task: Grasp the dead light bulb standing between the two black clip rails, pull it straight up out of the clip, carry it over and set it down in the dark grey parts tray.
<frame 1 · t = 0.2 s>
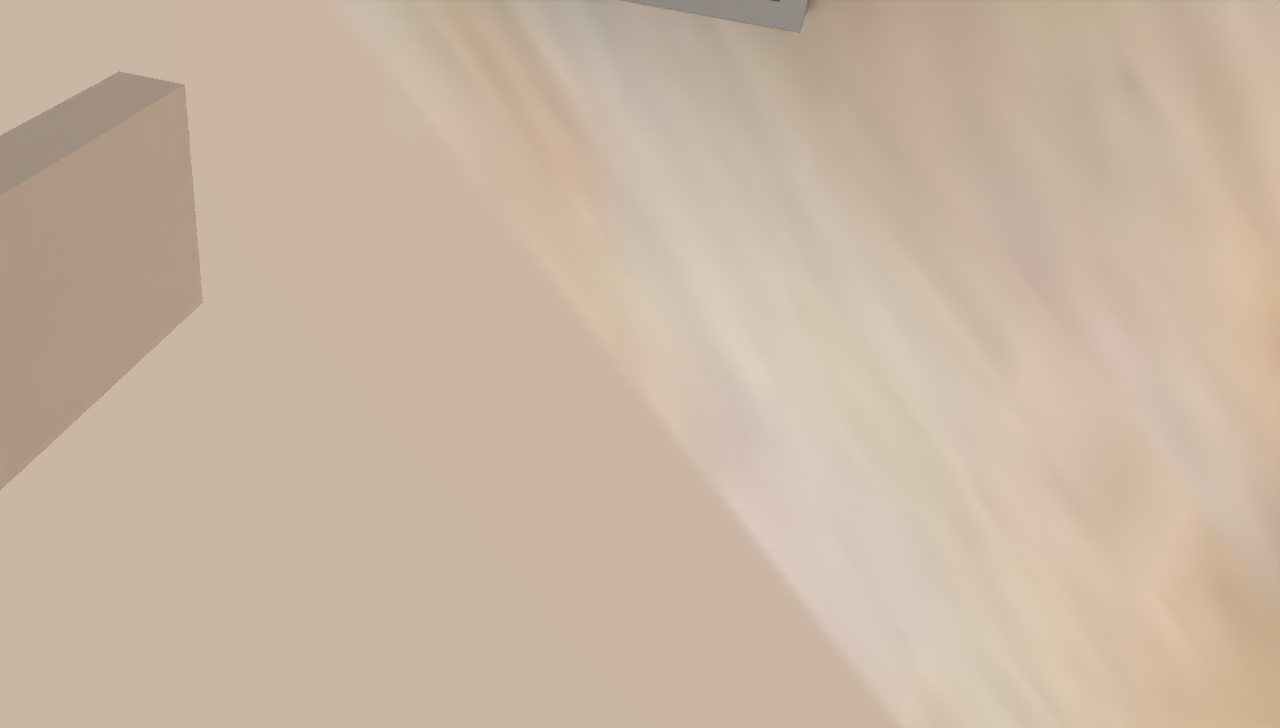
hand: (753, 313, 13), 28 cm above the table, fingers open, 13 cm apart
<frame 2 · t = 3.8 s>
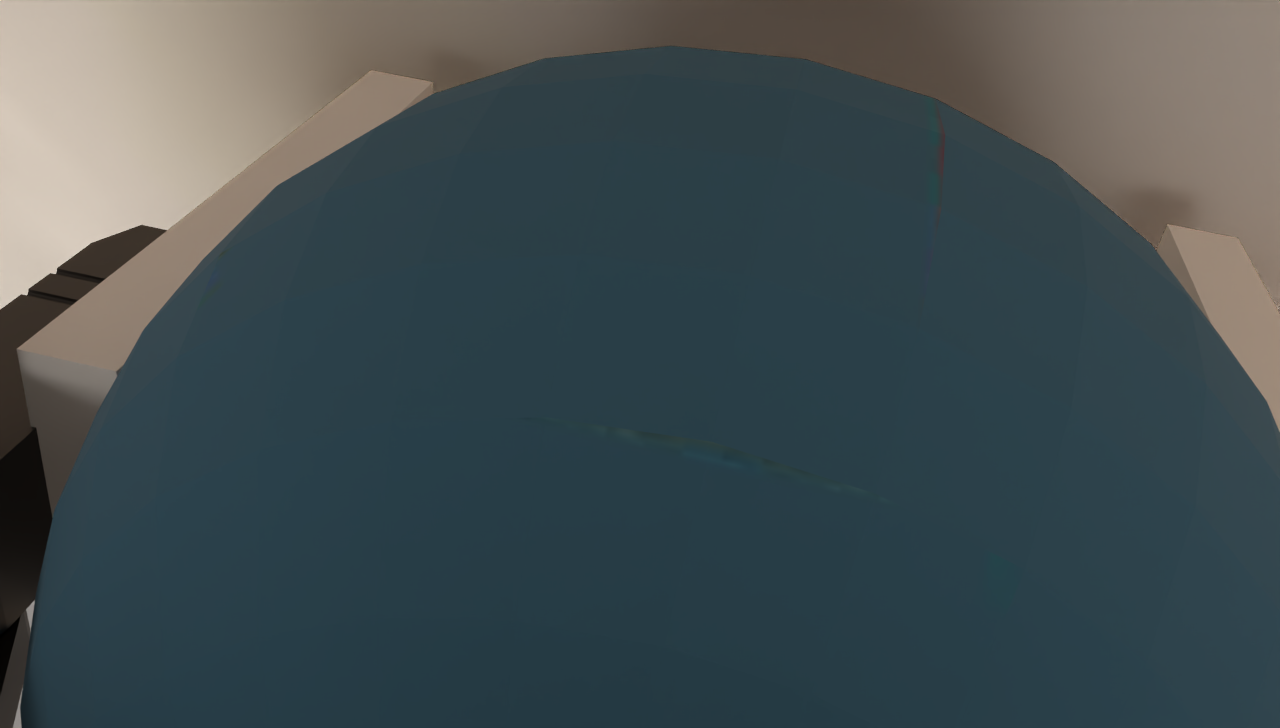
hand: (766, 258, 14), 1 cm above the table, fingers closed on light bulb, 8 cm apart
light bulb: (779, 206, 15), on the table, touching gripper
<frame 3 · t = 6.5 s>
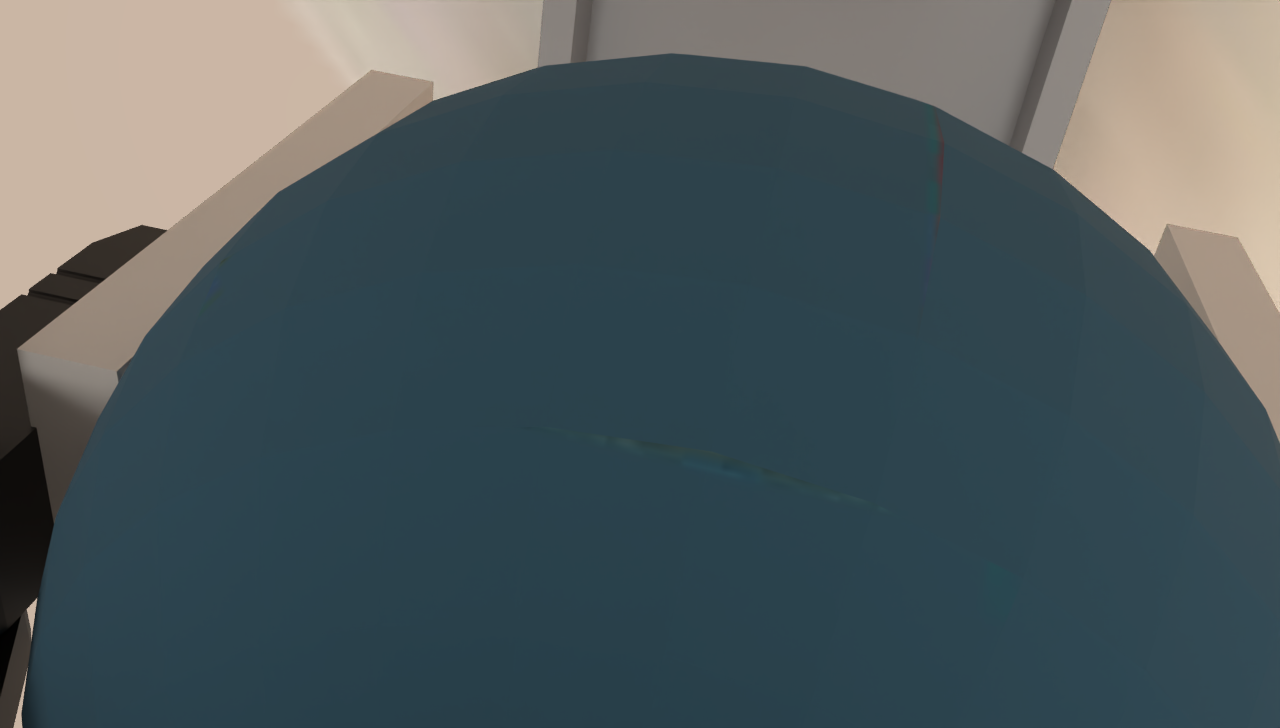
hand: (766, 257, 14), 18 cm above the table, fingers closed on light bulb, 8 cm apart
light bulb: (779, 209, 15), point 16 cm above the table, touching gripper
when the fingers open (4 cm above the table, at t = 9.1 s): light bulb drops 2 cm, resting on parts tray.
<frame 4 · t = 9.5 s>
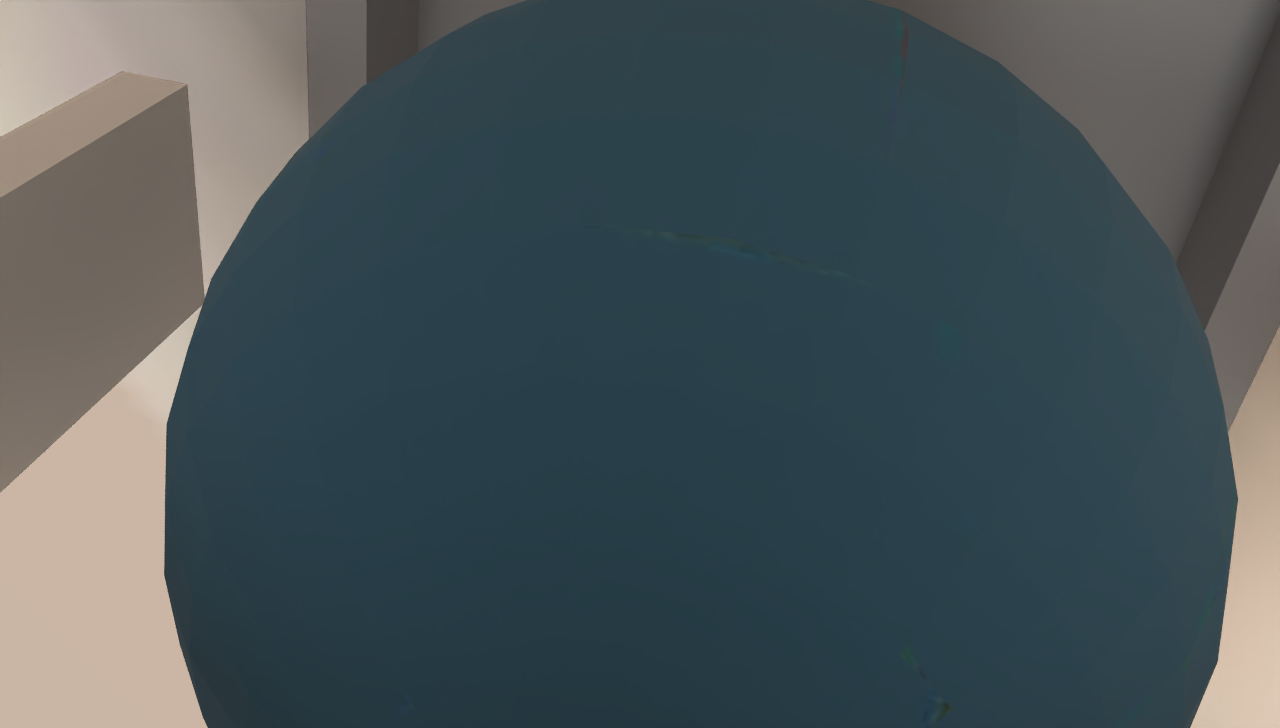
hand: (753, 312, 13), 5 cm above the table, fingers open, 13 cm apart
light bulb: (768, 148, 17), resting on parts tray
parts tray: (793, 143, 17), on the table
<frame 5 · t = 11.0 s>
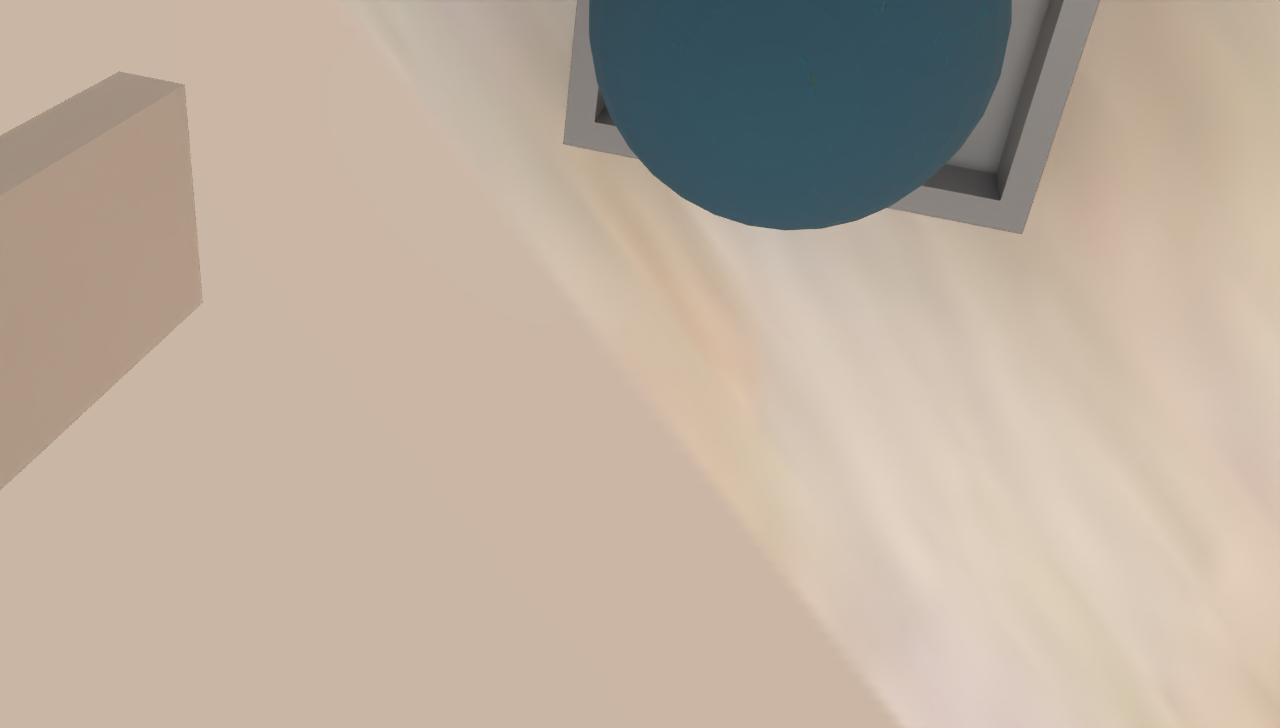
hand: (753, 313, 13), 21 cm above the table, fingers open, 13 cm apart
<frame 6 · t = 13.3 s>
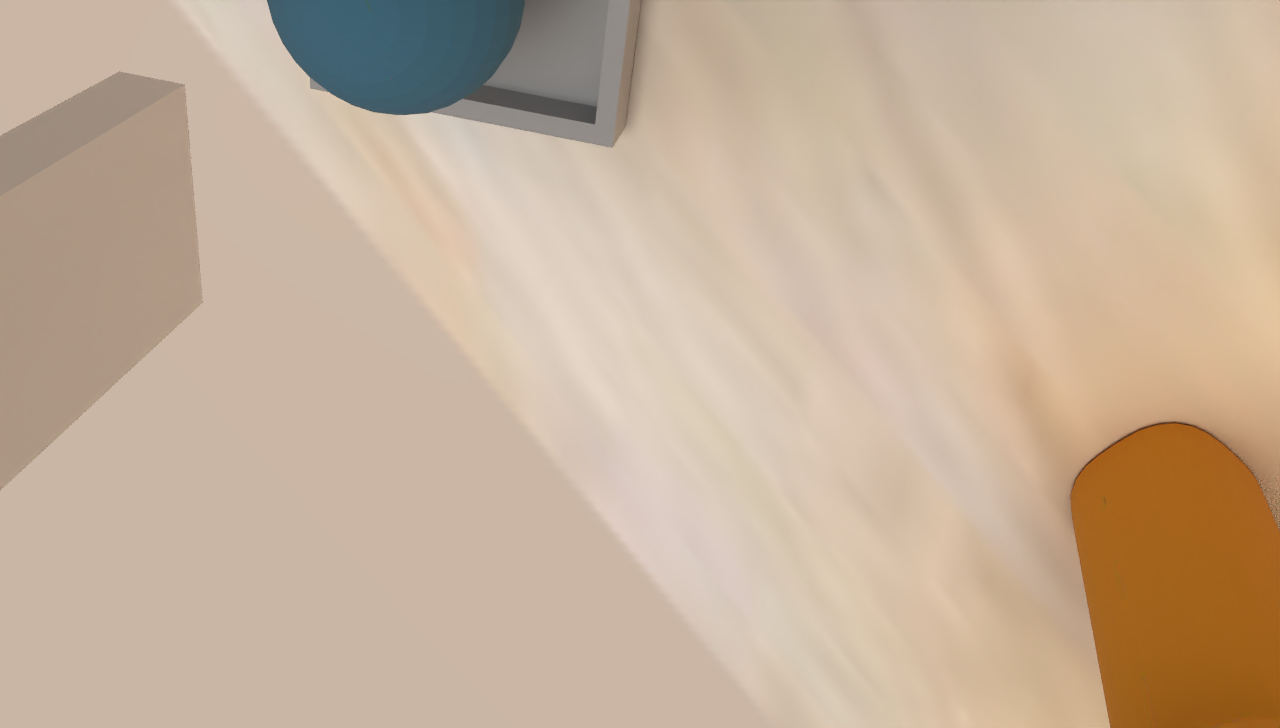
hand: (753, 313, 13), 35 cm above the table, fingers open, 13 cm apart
flashlight: (1163, 491, 53), on the table
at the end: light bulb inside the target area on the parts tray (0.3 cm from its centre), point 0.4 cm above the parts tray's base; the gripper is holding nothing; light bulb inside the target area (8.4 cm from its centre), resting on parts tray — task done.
